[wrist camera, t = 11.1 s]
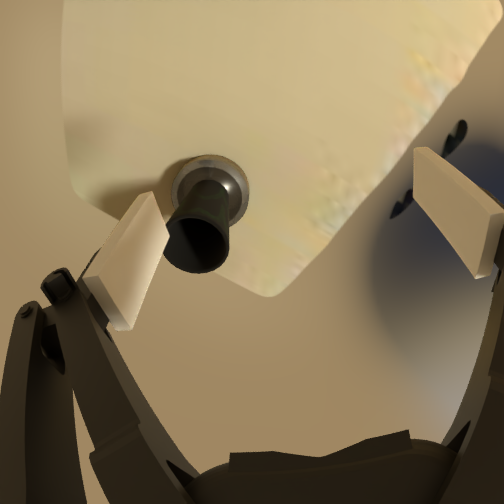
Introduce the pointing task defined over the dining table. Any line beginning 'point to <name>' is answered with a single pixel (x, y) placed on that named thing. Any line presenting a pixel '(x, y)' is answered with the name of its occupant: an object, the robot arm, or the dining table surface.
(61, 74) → the dining table surface
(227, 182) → the grey metal bowl
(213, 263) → the cup
